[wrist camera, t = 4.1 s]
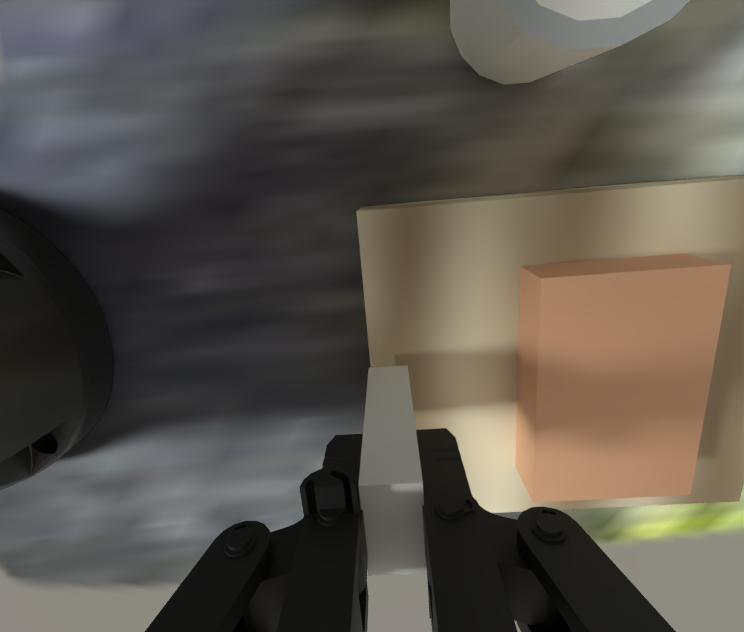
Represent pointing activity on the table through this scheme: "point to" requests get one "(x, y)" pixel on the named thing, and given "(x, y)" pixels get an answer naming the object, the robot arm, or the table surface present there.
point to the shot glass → (548, 32)
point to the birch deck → (501, 311)
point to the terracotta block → (615, 374)
